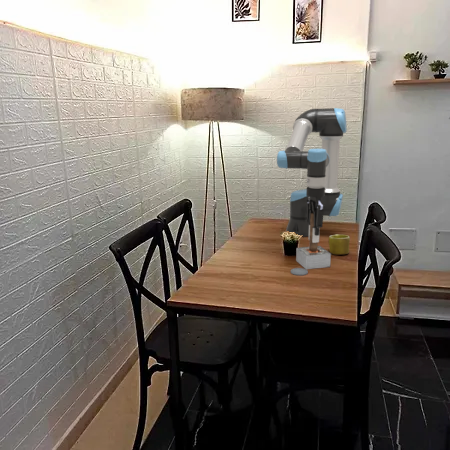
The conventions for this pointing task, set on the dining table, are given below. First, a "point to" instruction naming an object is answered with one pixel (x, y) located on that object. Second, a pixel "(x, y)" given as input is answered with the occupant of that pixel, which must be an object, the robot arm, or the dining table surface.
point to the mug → (339, 244)
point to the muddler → (312, 245)
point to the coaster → (299, 271)
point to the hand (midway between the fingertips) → (313, 240)
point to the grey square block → (313, 258)
